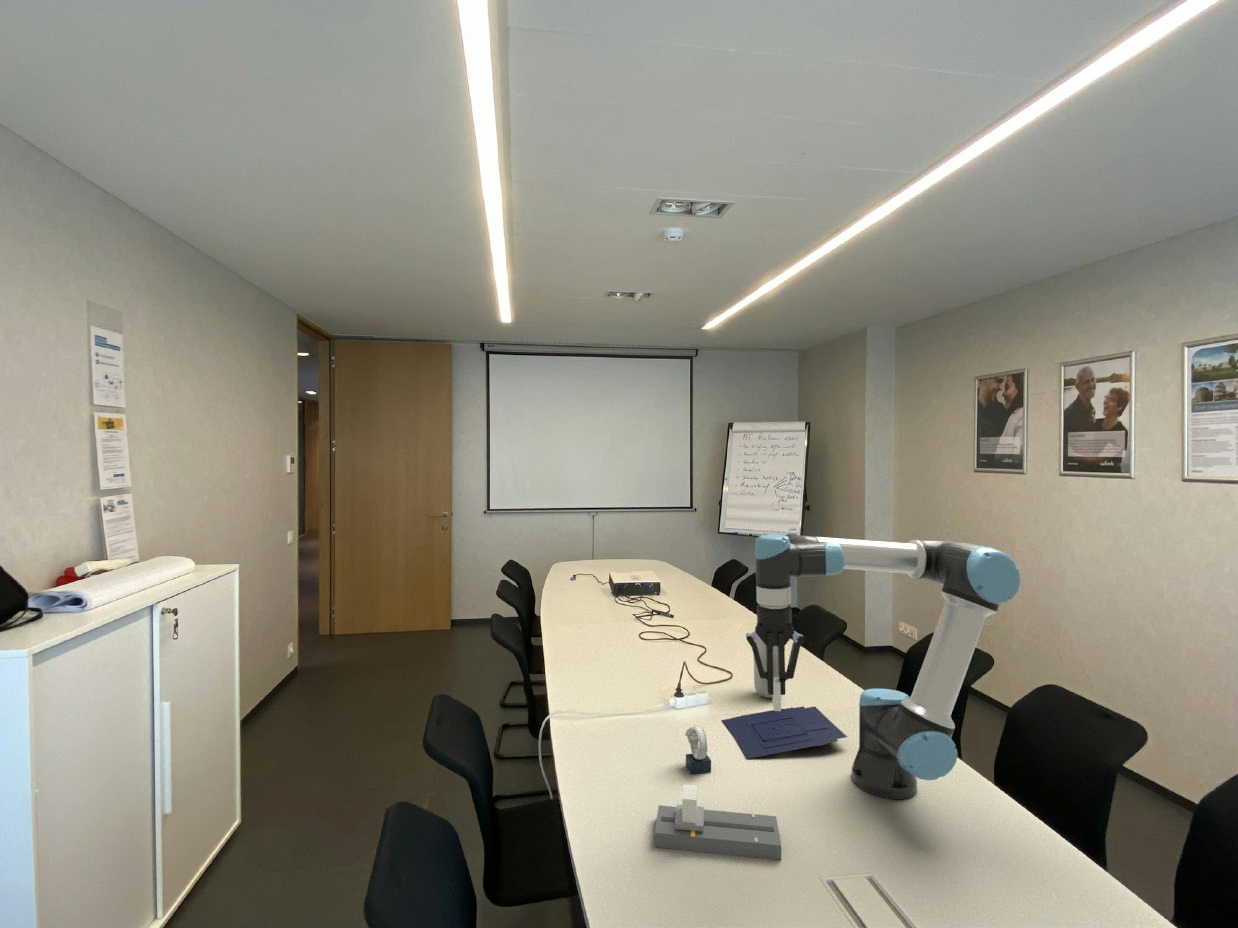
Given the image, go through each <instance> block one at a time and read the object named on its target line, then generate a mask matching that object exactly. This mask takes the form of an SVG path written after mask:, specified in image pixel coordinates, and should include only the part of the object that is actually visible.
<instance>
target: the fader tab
mask: <svg viewBox="0 0 1238 928" xmlns="http://www.w3.org/2000/svg"><path fill="white" fill-rule="evenodd" d="M682 788H683V789H682V799H681V801H682V803H681V804H677V803H676V807H677V808H676V818H675V829H680V830H691V831H701V832H703V828H704V810H705V807H704V806H700V805H699V806H698V785H694V784H692V785H691V784H683V787H682Z"/></svg>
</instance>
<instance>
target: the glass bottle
mask: <svg viewBox="0 0 1238 928" xmlns="http://www.w3.org/2000/svg"><path fill="white" fill-rule="evenodd" d="M756 645H757V648H758V652H759V655H760V659H761V662H762V666H763V670H764V671H766V672H767V666H766V645H765V644H764V643H763V641H762V640H761V639H760V637H759V636H757V642H756ZM773 678H779V675H778V648H777V646H773ZM753 680H754V681H753V682H754V683H753V684H754V689H755V692H756V694H758V695H759V696H760V697H762V698H767V699H773V697H772V695H769V693H768V690H767V680H766V679H764V678H760V675H759V672H758V668H757V665H756V661H755V657H754V656H753Z"/></svg>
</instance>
